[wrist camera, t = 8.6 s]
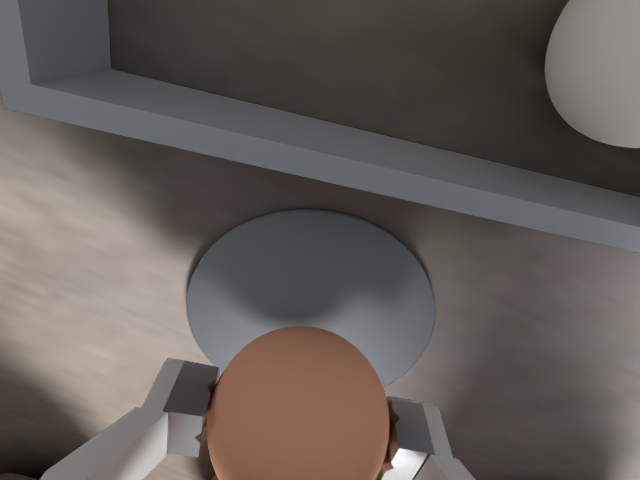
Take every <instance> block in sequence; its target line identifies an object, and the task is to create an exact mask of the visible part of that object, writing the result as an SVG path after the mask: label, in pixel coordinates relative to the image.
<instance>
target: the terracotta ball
mask: <svg viewBox="0 0 640 480" xmlns="http://www.w3.org/2000/svg"><path fill="white" fill-rule="evenodd" d="M389 428H390V426H389V409H388V405H387V400H386V396H385V391H384V389H383V386H382V384H381V381H380V379H379V377H378V375H377V373H376V371H375V370H374V368H373V366H372V365H371V363H370V362H369V361H368V359H367V358H366V357H365V356H364V355H363V354H362V353H361V352H360V351H359V349H357V348H356V347H355V346H354V345H353V344H351V343H350V342H349V341H347V340H346V339H344V338H343V337H341V336H339V335H337V334H335V333H333V332H330V331H327V330H324V329H321V328H316V327H310V326H291V327H285V328H280V329H276V330H273V331H270V332H268V333H266V334H264V335H262V336H260V337H258V338H256V339H255V340H253V341H251V342H250V343H249V344H247V345H246V346H245V347H244V348H243V349H241V350H240V351H239V352H238V353H237V354H236V355H235V356H234V358H233V359H232V360H231V361H230V362H229V364H228V365H227V367H226V368H225V369H224V371H223V373H222V375H221V376H220V378H219V380H218V382H217V384H216V387H215V390H214V392H213V394H212V398H211V402H210V407H209V411H208V419H207V443H208V448H209V453H210V458H211V462H212V465H213V468H214V470H215V473H216V475H217V477H218V479H219V480H375V479H376V477H377V476H378V474H379V471H380V469H381V467H382V464H383V461H384V458H385V455H386V450H387V445H388V440H389Z"/></svg>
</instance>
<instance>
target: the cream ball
mask: <svg viewBox="0 0 640 480" xmlns="http://www.w3.org/2000/svg"><path fill="white" fill-rule="evenodd" d="M545 80H546V86H547V90H548V93H549V96H550V98H551V101H552V103H553V105H554V107H555V108H556V110H557V112H558V113H559V114H560V115H561V116H562V118H563V119H564V120H565V121H566V122H567V123H568V124H569V125H570V126H571V127H573V128H574V129H575V130H577V131H578V132H580V133H582V134H583V135H585V136H587V137H589V138H591V139H593V140H596V141H599V142H602V143H605V144H609V145H613V146H619V147H627V148H640V0H569V1H568V3H567V4H566V6H565V7H564V9H563V11H562V13H561V14H560V16H559V18H558V20H557V22H556V24H555V26H554V29H553V31H552V34H551V37H550V40H549V43H548V47H547V52H546V58H545Z"/></svg>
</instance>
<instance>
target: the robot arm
mask: <svg viewBox="0 0 640 480" xmlns="http://www.w3.org/2000/svg"><path fill="white" fill-rule="evenodd" d="M219 375H220V368H219V367H214V366H209V365H204V364H199V363H194V362H189V361H184V360H179V359H173V358H167V359H166V361H165V362H164V363H163V365H162V367H161V369H160V371H159V373H158V375H157V377H156V379H155V381H154V383H153V385H152V387H151V389H150V391H149V394H148V396H147V398H146V400H145V402H144V404H143V406H142V408H138V407H135V408H134V409H133V410H131V411H130V412H128V413H127V414H126V415H124V416H123V417H121V418H120V419H119V420H117V421H116V422H114V423H113V424H111V425H110V426H109V427H107V428H106V429H104V430H103V431H102V432H100V433H99V434H97V435H96V436H95V437H93V438H92V439H90V440H89V441H87V442H86V443H85V444H83V445H82V446H80V447H79V448H78V449H76V450H75V451H73V452H72V453H71V454H69V455H68V456H66V457H65V458H63V459H62V460H61V461H59V462H58V463H56V464H55V465H54V466H52V467H51V468H49V469H48V470H47V471H45V472H44V474H43V476H42V477H41V479H40V480H143V479H144V478H145V477H146V476H147V475H148V474H149V473H150V472H151V471H152V470H153V469H154V468H155V467H156V466H157V465H158V464H159V463H160V462H161V461H162V460H163V459H164V458H165V457H166V456H167V454H175V455H183V456H191V457H199V454H200V450H201V447H202V444H203V441H204V438H205V434H206V427H207V419H208V411H209V407H210V402H211V398H212V394H213V392H214V390H215V387H216V384H217V382H218V379H219ZM386 400H387V405H388V409H389V426H390V428H389V440H388V445H387V450H386V455H385V458H384V461H383V464H382V467H381V469H380V471H379V474H378V480H475V478H474V477H473V476H472V475H471V474H470V473H469V471H468V470H467V469H466V468H465V467H464V465H463V464H462V463H461V462H460V461H459V459H456V458H453V455H452V452H451V448H450V445H449V441H448V438H447V435H446V431H445V428H444V424H443V421H442V418H441V414H440V411H439V408H438V406H437V405H436V404H431V403H425V402H419V401H416V400H409V399H403V398H397V397H390V396H388V397H386Z"/></svg>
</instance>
